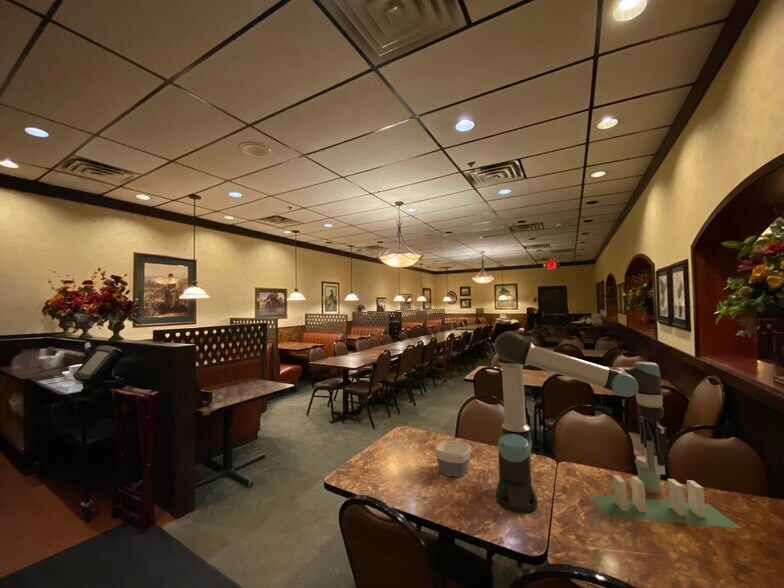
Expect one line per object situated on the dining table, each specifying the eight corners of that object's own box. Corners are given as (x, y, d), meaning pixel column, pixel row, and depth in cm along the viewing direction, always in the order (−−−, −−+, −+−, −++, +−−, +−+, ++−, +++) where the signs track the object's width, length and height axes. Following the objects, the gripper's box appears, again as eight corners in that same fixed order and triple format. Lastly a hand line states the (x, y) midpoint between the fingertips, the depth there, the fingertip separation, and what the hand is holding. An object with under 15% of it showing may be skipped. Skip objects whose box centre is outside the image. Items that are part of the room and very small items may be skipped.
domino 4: (699, 517, 111) (696, 487, 111) (689, 508, 115) (686, 480, 116) (706, 517, 110) (703, 487, 111) (695, 509, 115) (692, 480, 116)
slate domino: (656, 473, 114) (654, 445, 115) (648, 467, 119) (646, 439, 120) (663, 474, 114) (660, 445, 114) (654, 467, 118) (652, 440, 119)
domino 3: (679, 515, 112) (676, 485, 112) (670, 507, 117) (667, 478, 117) (685, 516, 111) (683, 486, 112) (676, 507, 116) (673, 479, 117)
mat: (605, 517, 112) (605, 516, 112) (589, 495, 126) (589, 494, 126) (741, 529, 104) (741, 528, 104) (709, 505, 118) (708, 503, 118)
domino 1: (621, 510, 115) (619, 481, 116) (614, 502, 120) (612, 475, 121) (627, 511, 115) (625, 482, 116) (620, 503, 120) (618, 475, 121)
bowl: (475, 468, 151) (474, 444, 152) (464, 483, 138) (463, 456, 139) (445, 461, 159) (444, 438, 160) (431, 474, 146) (431, 449, 147)
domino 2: (640, 512, 114) (638, 483, 115) (632, 504, 119) (630, 476, 120) (646, 512, 114) (644, 483, 115) (638, 504, 119) (636, 476, 119)
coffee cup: (669, 496, 124) (666, 464, 125) (644, 495, 125) (641, 463, 126) (655, 485, 132) (653, 455, 133) (632, 483, 134) (630, 454, 135)
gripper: (677, 412, 108) (684, 483, 107) (647, 398, 126) (652, 459, 124) (652, 411, 110) (658, 481, 108) (625, 398, 128) (630, 458, 126)
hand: (655, 469), depth 116 cm, fingers closed on slate domino, 5 cm apart
